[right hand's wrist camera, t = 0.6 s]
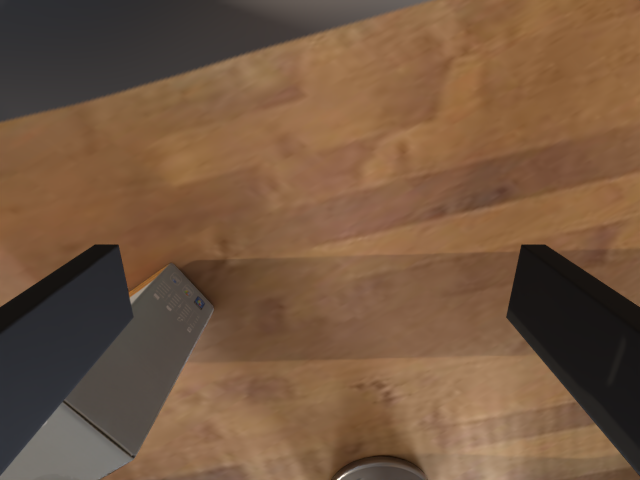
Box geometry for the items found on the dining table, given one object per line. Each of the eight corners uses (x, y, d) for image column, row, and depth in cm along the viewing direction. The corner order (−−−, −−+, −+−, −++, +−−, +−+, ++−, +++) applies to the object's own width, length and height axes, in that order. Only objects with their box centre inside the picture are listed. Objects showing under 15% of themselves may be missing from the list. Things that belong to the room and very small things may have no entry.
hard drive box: (172, 258, 42) (53, 389, 23) (217, 307, 44) (142, 461, 25) (77, 326, 45) (-93, 489, 26) (124, 368, 47) (-3, 545, 29)
